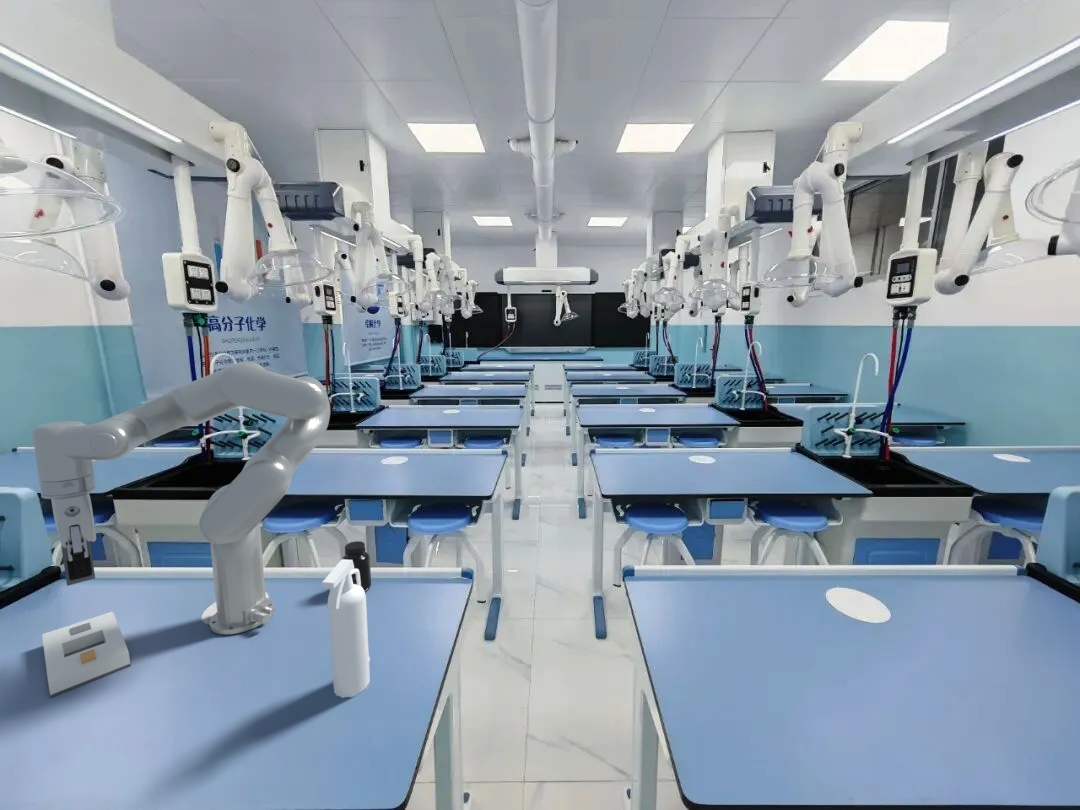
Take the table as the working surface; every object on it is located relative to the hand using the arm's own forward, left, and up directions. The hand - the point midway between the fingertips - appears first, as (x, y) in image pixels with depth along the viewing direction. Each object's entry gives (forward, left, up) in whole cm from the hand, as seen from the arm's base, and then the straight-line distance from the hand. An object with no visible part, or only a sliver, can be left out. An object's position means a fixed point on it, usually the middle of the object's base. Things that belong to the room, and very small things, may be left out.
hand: (80, 572), depth 94 cm
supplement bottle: (-33, -40, -18) cm, 54 cm away
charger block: (0, 0, -1) cm, 1 cm away
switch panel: (-1, +1, -17) cm, 18 cm away
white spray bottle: (-56, -14, -18) cm, 60 cm away
